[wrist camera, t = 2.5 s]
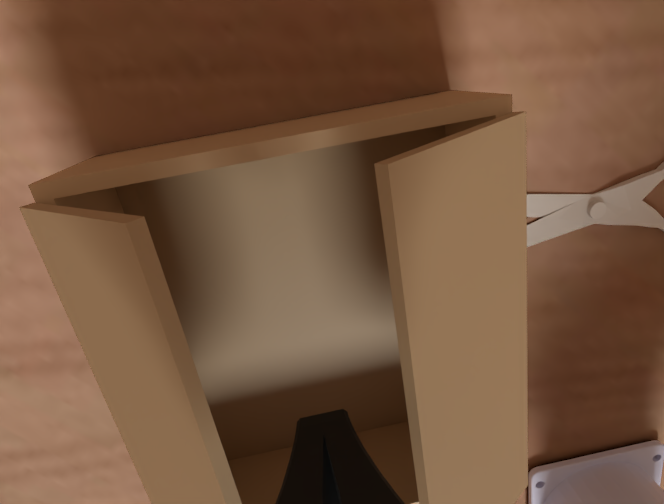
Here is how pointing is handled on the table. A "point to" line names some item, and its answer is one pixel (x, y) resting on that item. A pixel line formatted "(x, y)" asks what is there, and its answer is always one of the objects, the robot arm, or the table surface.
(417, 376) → the flap
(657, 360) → the table surface
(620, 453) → the robot arm
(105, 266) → the flap
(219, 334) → the carton
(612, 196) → the scissors
